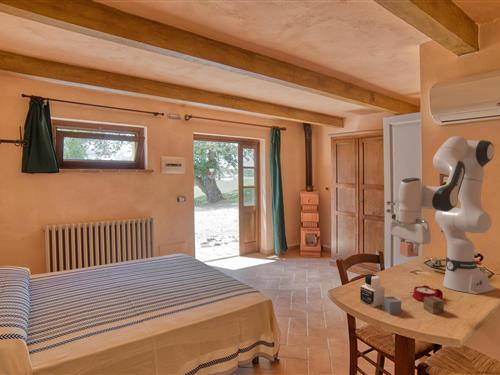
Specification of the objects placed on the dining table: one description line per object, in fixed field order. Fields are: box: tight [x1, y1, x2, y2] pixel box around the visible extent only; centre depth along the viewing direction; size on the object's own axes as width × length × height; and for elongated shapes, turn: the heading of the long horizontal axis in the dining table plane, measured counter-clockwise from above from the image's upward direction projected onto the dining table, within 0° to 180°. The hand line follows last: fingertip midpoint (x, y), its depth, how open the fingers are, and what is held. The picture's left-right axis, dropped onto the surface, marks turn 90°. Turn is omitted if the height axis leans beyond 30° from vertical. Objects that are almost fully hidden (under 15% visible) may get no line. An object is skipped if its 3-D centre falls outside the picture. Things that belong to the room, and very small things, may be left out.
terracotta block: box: [399, 241, 420, 258], centre depth 132 cm, size 5×5×5 cm
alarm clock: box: [409, 284, 444, 303], centre depth 143 cm, size 10×6×15 cm
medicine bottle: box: [359, 273, 386, 308], centre depth 137 cm, size 7×7×12 cm
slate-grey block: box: [381, 296, 402, 315], centre depth 129 cm, size 5×5×5 cm
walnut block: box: [423, 296, 445, 315], centre depth 129 cm, size 5×5×5 cm
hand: (409, 250), depth 132 cm, fingers closed on terracotta block, 5 cm apart
